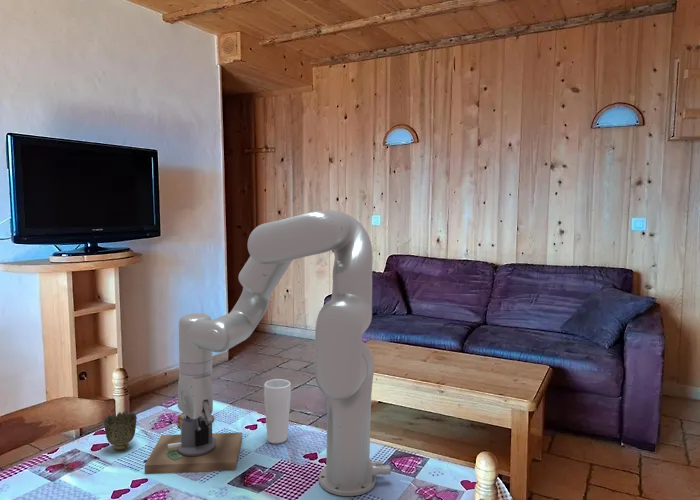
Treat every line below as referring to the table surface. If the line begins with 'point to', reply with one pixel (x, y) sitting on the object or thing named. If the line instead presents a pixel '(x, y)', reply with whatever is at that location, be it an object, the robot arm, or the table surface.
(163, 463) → the wooden board
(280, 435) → the drinking glass
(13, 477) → the table surface
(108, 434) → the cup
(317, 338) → the robot arm
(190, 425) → the tuning knob
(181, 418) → the cookie
